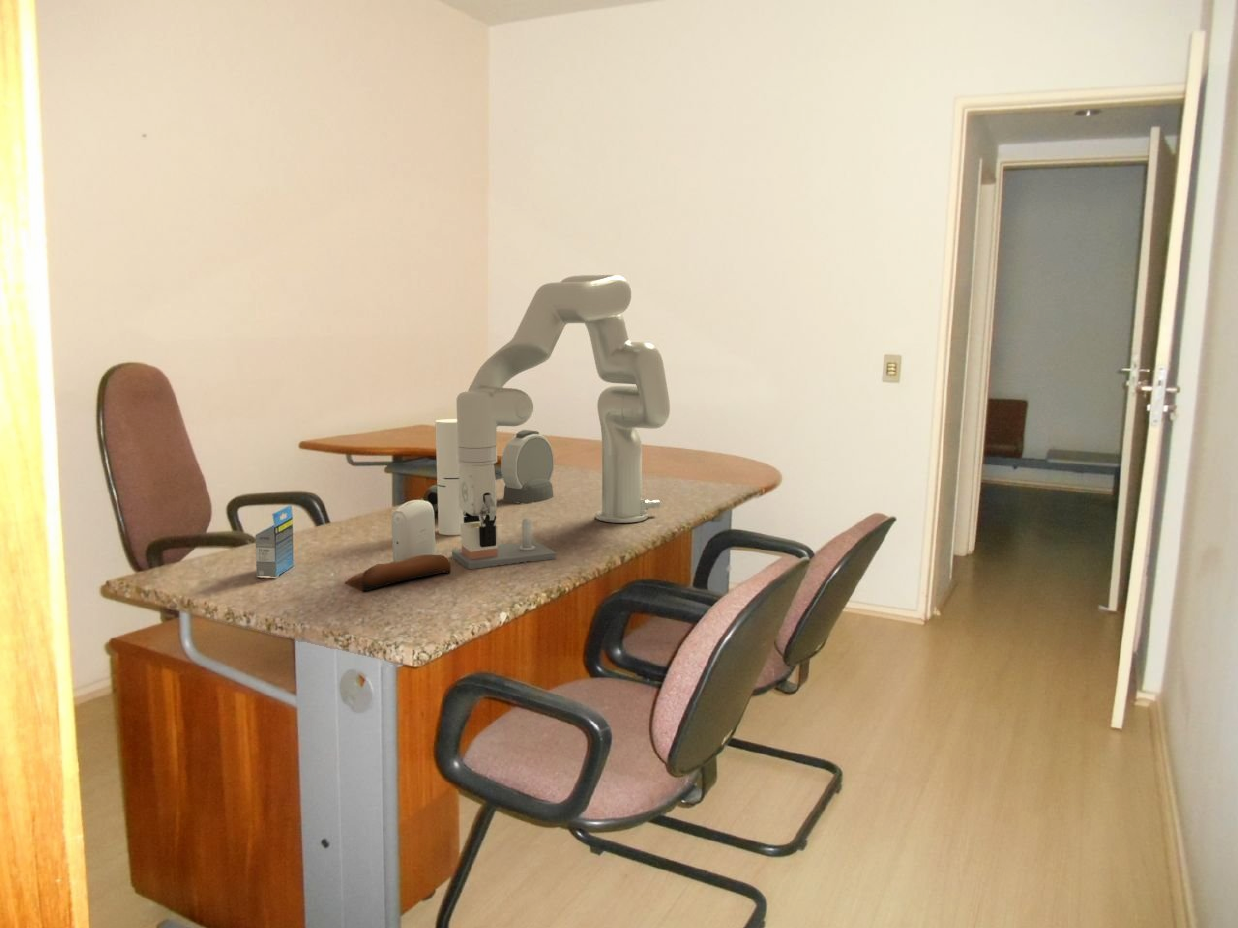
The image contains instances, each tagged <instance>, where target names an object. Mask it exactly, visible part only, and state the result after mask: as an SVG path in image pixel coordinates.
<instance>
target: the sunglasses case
mask: <svg viewBox="0 0 1238 928" xmlns="http://www.w3.org/2000/svg"><path fill="white" fill-rule="evenodd" d="M451 568H452V567H451V562H450V561H449V559H448V558H447V557H446V556H445V555H442V554H435V555H420V556H415V557H411V558H408V559H404V560H401V561H398V562H396V561H393V560H392V561H390V562H386V563H385V562H384V563H376V564H374V565H373V566H371V567H369V568H368V569H366V570H364V571H363V572H361V573H359V574H355V575H354V576H353V577H351V578H348V579H347V580H346V581H345V582H344V585H348V586H350V587H352V588H354V589H356V590H358V591H360V592H361V593H365V591H370V590H373V589H378V588H381V587H385V586H387V585H391V584H394V583H396V582H399V581H400V582H403V581H406V580H412V579H416V578H419V577H421V578H422V577H427V576H432V575H436V574H442V573H446V574H450V573H451V570H452V569H451Z"/></svg>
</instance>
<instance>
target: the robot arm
mask: <svg viewBox="0 0 1238 928" xmlns="http://www.w3.org/2000/svg"><path fill="white" fill-rule="evenodd" d="M631 299H632V290H631V286H630V283H629V282H628V281H627V280H626V278H624V277H622V276H621V275H617V274H596V275H595V274H585V275H583V274H581V275H572V276H568V277H565V278H563V279H562V280H561V281H559V282H549V283H545V284H543V285H540V287H538V289H536V291H535V292H534V294H533V297H532V299H531V301H530V303H529V305H528V307H527V309H526V311H525V313H524V315H523V317H522V319H521V321H520V323H519V326H518V328H516V332H515V333H514V335H513V337H512V338H511V339H510V340H509V341H508V342H506V343H505V344H504V345H503V346H501V347H500V348H499V349H498V350H497V351H496V352H494V353H493V354H492V355H491V356H490V357H489V358H488V359H487V360H486V361H484V363H483V364H482V365H481V366H480V368H479V369H478V371H477V372H476V373H475V376H474V378H473V380H472V382H471V383H470V385H469V388H468V390H467V391H463V392H461V393H459V394H458V395H457V397H456V419H457V436H458V463H459V464H460V472H459V507H460V508H461V509H462V510H464V511H463V515H464V516H466V517H464V523H468V522H478V521H480V524H481V527H479V541H480V547H490V546H496V526H497V500H498V499H497V486H496V485H497V481H496V472H495V471H496V469H495V464H496V463H497V464H498V439H497V438H498V437H497V432H498V431H497V428H498V427H518V426H521V425H524V424H525V423H526V422H527V421H529V419H530V418H531V417H532V415H533V411H534V404H533V400H532V399H531V397H530V395H529V394H528V393H526V392H525V391H524V390H522V389H518V388H512V387H511V388H509V387H504V386H505V385H506V384H507V382H509V381H510V380H511V379H512V378H514V377H515V376H517V375H519V374H521V373H523V372H525V371H528V370H530V369H532V368H535V367H537V366H539V365H541V364H543V363H545V362H547V361H548V360H549V359H550V358H551V357H552V354H553V352H554V350H555V348H556V347H557V346H556V345H557V344H558V342H559V338H560V336H561V335H562V333H563V330H564V329H565V326H567V325H569V324H584V325H585V326H586V329H587V331H588V336H589V339H590V343H591V349H592V356H593V359H594V364H595V369H596V372H597V376H598V377H599V378H600V380H602V382H606V383H610V384H623V385H612V386H609V387H607V388H605V389H604V390H602V391H601V393H600V395H599V397H598V400H597V404H596V405H597V406H596V407H597V413H598V415H597V416H598V419H599V423H600V424H599V425H600V431H601V434H600V435H601V509H600V510H598V511H596V512H595V518H596V520H598V521H602V522H607V523H614V524H616V523H617V524H620V523H621V524H623V523H624V524H625V523H626V524H628V523H630V524H631V523H639V522H643V521H645V520H647V519H648V518H649V513H648V511H647V510H649V509H657V508H660V506H661V502H660V500H659V499H652V500H650V499H645V498H643V494H642V493H643V492H642V491H643V490H642V489H643V488H642V487H643V482H642V481H643V474H642V473H643V443H642V440H641V437H640V435H639V433H638V431H637V429H636V428H638V429H649V430H651V429H653V430H655V429H660V428H661V427H663V426H665V425H666V423H668V419H669V417H670V411H671V405H670V396H669V391H668V390H669V389H668V383H667V378H666V370H665V367H664V362H663V358H662V354H661V353H660V351H659V350H658V348H657V347H656V346H654V345H653V344H651V343H649V342H642V341H641V342H639V341H638V342H636V341H631V340H630V339H629V335H628V331H627V328H626V322H625V320H624V317H623V315H622V314H623V313H624V312H625V311H626V310H627V309H628V307H629V306H630V303H631ZM624 384H626V385H624ZM633 385H634V386H633Z"/></svg>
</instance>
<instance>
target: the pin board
mask: <svg viewBox="0 0 1238 928" xmlns="http://www.w3.org/2000/svg"><path fill="white" fill-rule="evenodd" d="M521 525H522V527H521V532H522V533H521V536H522V542H516V543H515V542H514V543H506V544H498V556H493V557H485V558H476V559H469V558H468V557H467V556H465V555H464V554H463V553H462V548H461V549H454V550H453V549H452V550H451V557H452V558H454V559H455V560H456V561H458V562H459V564H461V565H462V566H464V567H465V568H466V569H468V570H474V569H482V568H483V567H484V568H490V566H492V567H498V566H497V565H500V566H505V565H504V564H508V565H512V564H511V563H516V564H520V563H519V562H524V563H528V562H527V561H532V562H539V561H546V560H555V559H556V558H557V552H556V551H554V550H552V549H550V548H549V547H546V546H545V545H543V544H542V543H541V542H538V541H536V540H532V521H531V519H530V518H527V517H526V518H524V519H522V522H521ZM475 527H481V524H480V523H477V524H476V525H475ZM484 568H483V569H484Z"/></svg>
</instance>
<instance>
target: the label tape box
mask: <svg viewBox="0 0 1238 928" xmlns="http://www.w3.org/2000/svg"><path fill="white" fill-rule="evenodd" d="M292 507H293V506H292V504H289V505H288V506H286V507H284V508H281V509H279V510H277V511H275V512H272V513H271V515H272V522H273V525H271V526H269V527H267V528H265V529H263V530H262V531H260V532H258V533H256V534H255V538H254V539H255V563H256V565H255V570H256V577H257V576H270V577H277V576H278V575H280V574H281V573H283V572H284V573H286V572H287V571H289V570H290V569H292V568H293V567H294V566H295V565H294V563H295V562H294V561H295V560H294V521H293V518H294V517H293V516H294V515H293V508H292ZM283 515H286V516H285V517H283V518H281V517H282V516H283ZM292 566H293V567H292ZM291 567H292V568H291ZM289 568H290V569H289ZM288 569H289V570H288ZM286 570H287V571H286ZM285 571H286V572H285ZM284 573H283V574H284Z"/></svg>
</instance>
